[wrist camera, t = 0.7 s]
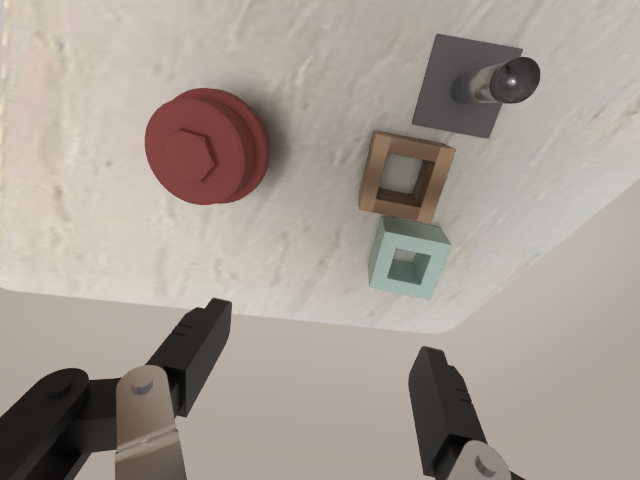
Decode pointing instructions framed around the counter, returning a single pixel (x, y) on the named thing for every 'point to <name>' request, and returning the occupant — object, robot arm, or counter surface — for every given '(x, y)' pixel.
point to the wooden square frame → (428, 182)
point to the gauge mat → (442, 70)
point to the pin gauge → (498, 83)
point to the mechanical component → (207, 147)
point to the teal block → (404, 275)
